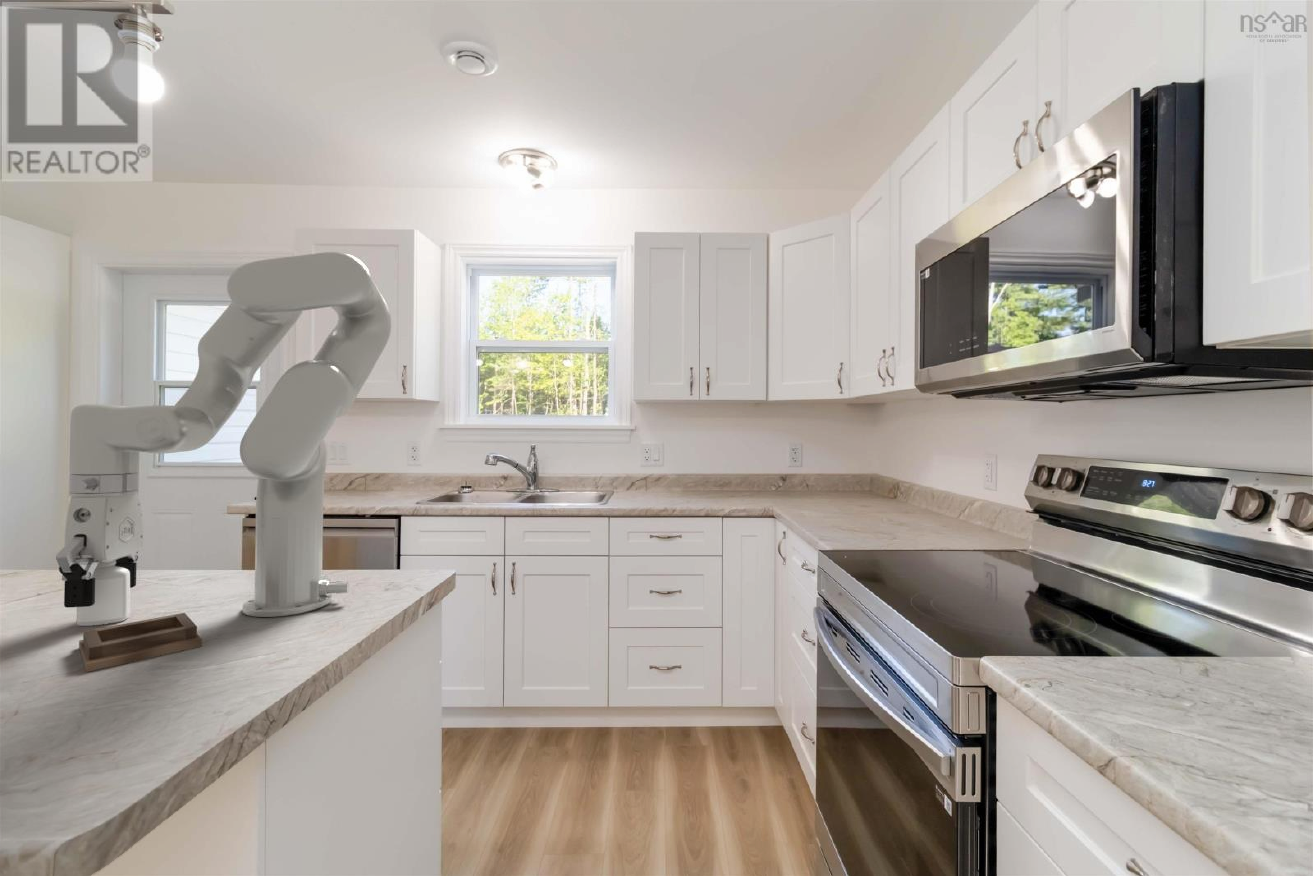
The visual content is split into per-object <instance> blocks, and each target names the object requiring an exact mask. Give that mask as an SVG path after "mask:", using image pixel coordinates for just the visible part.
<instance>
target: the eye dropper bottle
mask: <svg viewBox="0 0 1313 876" xmlns="http://www.w3.org/2000/svg"><path fill="white" fill-rule="evenodd" d="M115 564H116V560H115V561H111V562H108V563H102V562H100V560H99V562H98V564H97V566H96V568H95V570H94V572H93V574H92V576H91V578H95V603H94V605H92V606H88V607H76V625H77V626H81V627H91V626H92V627H93V625H94V626H102V625H103V624H104V625H109V623H110V624H116V623H121V622H123V621H126V620H127V619H128V618H129V617H130V614H131V607H130V606H131V588H130V572H129V570H128V569H126V568H122V567H117V566H114V565H115Z"/></svg>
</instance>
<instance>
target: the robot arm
mask: <svg viewBox="0 0 1313 876" xmlns="http://www.w3.org/2000/svg"><path fill="white" fill-rule="evenodd" d="M226 283H227V284H226V285H227V286H226V290H227V294H228V297H229V298H230V301H231V302H230V304H229V305H228V307H226V309H225V310H224V311H223V312H222V314H220V316H219V317H218V319H216V320H215V322H214V323H213V324H212V325H211V326H210V327H209V329H208V330H207V331H206V332H205V333H204V334H203V335H202V337H201V338H200V339H199V341H198V346H197V356H198V369H197V373H196V375H195V378H194V379H193V381H192V383H191V384H190V386H189V387H188V388H187V390H186V391H185V392H184V394H182V396H181V397H180V398H179V400H178V401H177V402H175V404H174V405H165V404H164V405H163V404H161V405H160V404H159V405H158V404H157V405H142V406H128V405H119V404H117V405H116V404H97V403H96V404H93V403H91V404H89V403H88V404H80V405H77V406H75V407H73V409H72V410H71V412H70V421H69V424H70V425H69V459H68V460H69V464H68V465H69V466H68V476H69V477H68V497H70V500H69V505H68V508H67V515H66V521H65V530H64V531H65V532H64V546H63V548H62V549H61V550H60V551H58V553H57V554H56V555H55V559H56V562H57V565H58V571H59V572H60V574H61V575H62V576H61V580H62V581H63V582H64V597H63V598H64V601H63V606H64V607H65V608H68V609H69V608H77V607H88V606H92V605H94V603H95V578H91V576H92V574H93V572H94V570H95V568H96V566H97V564H98V562H99V560H100V562H102V563H108V562H111V561H115V560H116V564H115V565H114V566H117V567H122V568H126V569H128V570H129V572H130V589H131V588H132V589H133V588H134V587H136V585H137V564H138V563H137V562H138V561H139V555H138V553H139V551H141V550H142V548H143V547H144V546H143V545H144V543H143V542H144V533H143V532H144V531H143V529H144V527H143V514H142V512H143V511H142V505H141V499H140V495H139V488H140V487H139V486H140V482H139V480H140V452H141V453H148V454H159V455H161V454H162V455H163V454H164V455H165V454H174V453H175V454H176V453H180V452H181V453H182V452H190V451H195V450H197V449H201V448H202V447H204V446H206V445H207V444H208V443H210V441H211V440H213V439H214V437H215V436H216V435H217V434H218V433H219V431H220V430H221V429H222V428H223V426H224V425H225V424H226V423H227V422H228V420H229V419H230V418H231V417H232V415H233V413H235V411H236V410H237V408H238V407H239V405H240V403H241V402H242V400H243V398H244V397H245V394H246V393H247V390H248V389H249V387H250V385H251V383H252V382H253V379H254V377H255V374H256V373H257V371H258V370H259V368H260V367H261V366H262V365H263V363H264V362H265V361H266V360H267V359H268V357H269V356H270V355H271V353H272V352H273V351H274V350H275V349H276V347H278V345H279V344H280V342H281V341H282V340H283V339H284V338H285V336H286V335H287V333H289V331H290V330H291V328H293V327H294V325H295V323H296V322H297V321H298V320H299V318H300V317H301V315H302V314H303V313H304V311H309V310H315V309H316V310H317V309H324V308H331V309H333V310H334V311H335V312H336V314H337V315H338V320H337V324H336V325H335V327H334V328H333V329H332V331H331V332H330V333H329V334H328V335H327V337H326V339H324V342H323V344H322V346H321V347H320V349H319V350H318V352H317V353H316V354H315V356H314V357H313V359H310V360H309V359H308V360H304V361H301V362H297V363H296V364H294V365H292V366H291V367H290V368H288V370H287V371H285V372H284V373H283V374H282V376H281V377H280V378H279V379H278V380H277V382H276V384H275V385H274V387H273V388H272V389H271V391H270V393H269V394H268V396H267V398H266V399H265V401H264V402H263V404H262V406H261V407H260V409H258V411H257V413H256V415H255V416H254V417H253V419H252V421H251V422H250V423H249V426H247V429H246V430H245V432H244V433H243V436H242V438H241V441H240V443H239V456H240V460H241V461H242V462H241V463H242V465H243V466H244V467H245V468H246V470H247V471H249V473H250V474H252V475H254V476H255V477H258V481H257V485H256V486H257V487H256V488H257V489H256V497H255V498H256V500H255V502H256V503H255V538H254V539H255V541H254V543H255V544H254V545H255V548H254V549H255V552H254V553H255V554H254V555H255V556H254V557H255V558H254V597H252V598H250V599H248V600H246V601H245V602H243V604H242V613H243V614H244V615H247V616H250V617H256V618H257V617H258V618H269V617H270V618H272V617H273V618H274V617H284V616H292V615H297V614H298V615H299V614H303V613H307V612H311V611H314V610H319V609H320V608H323V607H324V606H326V605H328V604H330V603H331V602H332V601H333V594H336V595H337V594H349V592H350V585H351V584H350V581H346V580H345V579H342V580H341V579H339V580H331V579H328V573H327V572H325V573H324V572H323V549H324V548H323V546H324V545H323V543H324V542H323V541H324V540H323V537H324V526H323V525H324V495H325V492H324V491H325V477H326V469H327V467H326V466H327V458H328V456H327V455H328V454H327V445H326V442H325V437H326V436H327V434H328V433H329V431H330V429H331V428H332V426H333V425H334V423H335V421H336V420H337V419H338V418H341V417H343V416H344V415H345V414H347V413H348V412H349V411H350V410H351V408H352V406H353V405H354V403H355V401H356V399H357V397H358V395H359V394H360V392H361V390H362V388H363V386H364V385H365V383H366V382H367V379H368V378H369V377H370V375H371V373H372V371H373V369H374V368H375V365H376V364H377V361H378V360H379V359H380V356H381V355H382V354H383V352H384V350H385V348H386V346H387V344H388V342H389V339H390V337H391V330H392V316H391V312H390V309H389V306H388V303H387V301H386V300H385V298H384V297H383V295H382V293H381V291H380V290H379V288H378V287H377V285H376V283H375V281H374V279H373V277H372V275H371V272H370V270H369V269H368V267H367V266H366V265H365V264H364V263H363V262H362V261H361V260H360V259H358V258H357V257H355V256H354V255H351V254H348V253H345V252H337V251H328V252H318V253H317V252H316V253H309V254H308V253H307V254H301V255H292V256H286V257H285V256H284V257H276V258H267V259H261V260H255V261H251V262H248V263H245V264H243V265H240V266H238V267H237V268H236V269H234V270H233V271H232V272H231V274H230V275H229V278H228V280H227V282H226ZM82 566H85V568H83V567H82Z"/></svg>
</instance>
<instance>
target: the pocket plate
mask: <svg viewBox="0 0 1313 876" xmlns="http://www.w3.org/2000/svg"><path fill="white" fill-rule="evenodd" d="M82 632H83V633H82V639H79V641H78V649H79V652H80V655H81V659H82V663H83V665H84V669H85V672H86V673H88V672H89V673H90V672H94V671H98V670H101V669H102V668H103V669H106V668H110V667H114V666H119V665H120V666H121V665H124V664H128V663H134V662H137V661H142V659H143V660H146V659H151V657H152V658H155V657H159V656H160V655H161V656H165V655H168V654H173V653H177V652H183V651H187V650H191V649H192V650H193V649H195V648H200V647H202V646H203V642H202V641H203V638H201V636H200V635H199V634H198V626H197V625H196V624H195V622H194V621H193V620H192V619H191V618H190V617H189V616H188V614H186V613H185V612H182V613H181V612H180V613H176V614H171V615H170V614H169V615H165V616H160V617H155V618H149V619H144V620H139V621H133V622H132V621H131V622H127V623H122V624H116V625H110V626H105V627H100V628H99V627H98V628H95V629H89V630H83V631H82ZM182 650H183V651H182ZM97 669H98V670H97Z"/></svg>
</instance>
